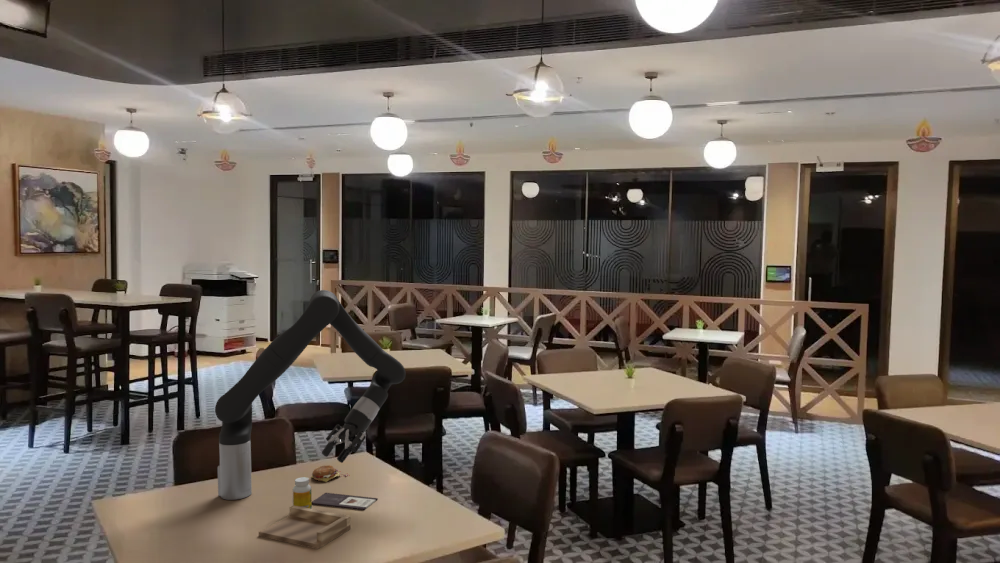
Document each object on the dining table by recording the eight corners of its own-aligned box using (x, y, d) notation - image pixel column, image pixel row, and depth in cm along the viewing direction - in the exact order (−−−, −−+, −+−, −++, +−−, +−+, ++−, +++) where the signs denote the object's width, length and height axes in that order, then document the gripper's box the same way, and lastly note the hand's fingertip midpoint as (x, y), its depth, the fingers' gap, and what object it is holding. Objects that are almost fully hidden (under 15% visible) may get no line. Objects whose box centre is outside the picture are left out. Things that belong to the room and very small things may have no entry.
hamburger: (330, 488, 229) (330, 470, 229) (300, 480, 237) (300, 463, 236) (360, 475, 241) (360, 458, 241) (330, 468, 249) (330, 452, 248)
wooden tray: (258, 536, 191) (258, 523, 191) (293, 517, 204) (293, 505, 203) (317, 549, 183) (317, 535, 182) (350, 528, 195) (350, 516, 195)
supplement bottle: (291, 509, 210) (290, 477, 209) (309, 506, 212) (309, 475, 212) (294, 515, 205) (294, 483, 204) (313, 512, 207) (312, 480, 207)
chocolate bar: (325, 492, 222) (377, 498, 217) (325, 495, 222) (377, 501, 217) (310, 502, 214) (364, 508, 209) (310, 505, 214) (364, 511, 209)
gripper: (342, 404, 226) (311, 446, 218) (368, 411, 216) (336, 456, 208) (356, 417, 230) (326, 459, 222) (382, 425, 220) (352, 469, 212)
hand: (331, 458), depth 215 cm, fingers open, 8 cm apart
